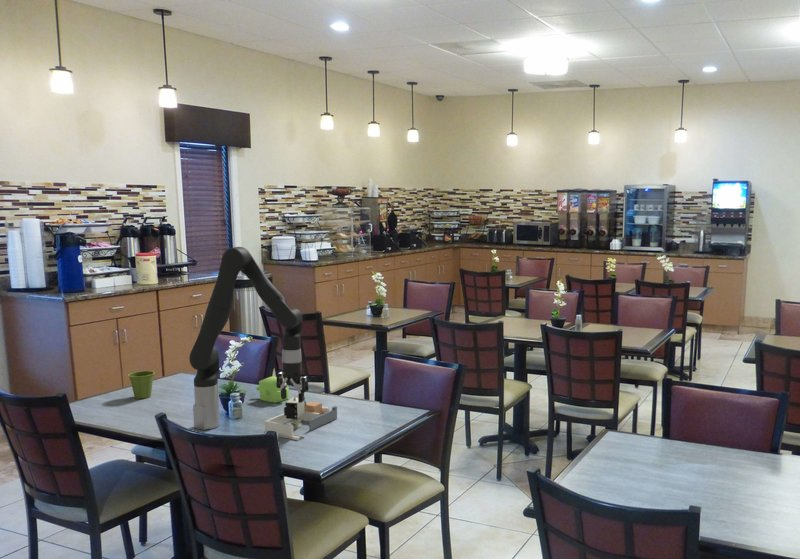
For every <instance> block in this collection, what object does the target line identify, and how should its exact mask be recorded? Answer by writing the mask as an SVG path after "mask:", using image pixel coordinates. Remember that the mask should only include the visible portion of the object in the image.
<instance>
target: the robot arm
mask: <svg viewBox="0 0 800 559" xmlns="http://www.w3.org/2000/svg"><path fill="white" fill-rule="evenodd" d="M218 269H219V271H218V275H217V278H216V281H215V283H214V287H213V289H212V293H211V296H210V298H209V300H208V304H207V307H206V310H205V314H204V316H203V319H202V323H201V326H200V330H199V333H198V336H197V337H196V340H195V343H194V344H193V346H192V349H191V350H190V354H189V364H190V365H191V367H192V369H194V370H197V371H196V374H195V376H194V378H193V391H194V393H193V394H194V395H193V396H194V404H193V405H192V412H193V413H192V414H193V428H194V429H199V430H203V431H207V430H211V429H216V428H218V427H219V426H220V424H221V422H220V404H219V381H218V379H219V377H220V376H219V375H220V355H219V351H218V349H217V347H216V346H215V344H216V341H217V339H218V337H219V335H220V334H221V333H222V331H223V329H224V328H225V326H226V325H227V322H228V321H229V318H230V316H231V313H232V311H233V306H234V300H235V293H234V292H235V284H236V281H237V278H238V276H239V274H240V272H241V273H242V274H243V275H245V277H247V278H248V279H249V281H250V282H251V284H252V285H253V287H254V289H255V291H256V293H257V295H258V296H259V299H261V300H262V301H263V302H264V304H265V305H266V306H267V307H268V308H269V309H270V311H271V312H272V314H273V316H274V317H275V319H276V321H277V323H279V324H280V326H282V327H283V328H285V332H284V334H283V335H282V340H281V341H282V353H281V364H282V365H281V367H282V368H281V369H282V371H280V372H277V373H276V377H277V383H276V387H277V388H280V390H281V398H282V399H286V398H287V392H286V388H287V386H288V387H289V386H291V387H294V389H295V390H297V392H298V395H297V397H298V402H299V403H301V402H303V401H304V397H305V393H306V392H309V381H308V380H309V379H308V378H309V377H308V376H307V375H306V376H302V374H301V373H302V371H303V370H302V366H303V365H302V364H303V363H302V362H303V360H302V358H303V357H302V347H301V346H302V345H301V344H302V343H301V340H302V339H301V337H302V336H301V334H302V330H303V315H302V314H303V313H302V312H301V311H300V310H299V309H297V308H290V307H289V306H288V305H287V304H286V302H287V300H286V298H285V297H284V295H283V294H282V293H281V292H280V291H279V290H278V289H277V288H276V287H275V286H274V284H273V283H272V281H271V280H270V279H269V278H268V277H267V276H266V274H265V273H264V271H263V270H262V269H261V268H260V265H258V264H257V262H256V260H255V259H254V257H253V256H252V254H251V252H250V251H249V250H248V249H247V248H245V247H243V246H234V247H229V248H228V249H227V250H225V251H224V253H222V257H221V260H220V266H219V268H218ZM283 378H284V381H283ZM286 400H287V399H286Z"/></svg>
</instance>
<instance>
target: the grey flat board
mask: <svg viewBox="0 0 800 559" xmlns="http://www.w3.org/2000/svg"><path fill="white" fill-rule="evenodd" d="M337 419H338V407H337V406H335V405H334V406H332V407H331V410H329V412H326V413H324V414H322V415H320V416H317V417H315V418H313V419H310V420H309V422H308V425H309V426H308V429H309V431H313V430H315V429H318V428H319V427H322V426H324V425H325V424H328V423H330V422H333V421H335V420H337Z"/></svg>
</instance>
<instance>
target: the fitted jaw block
mask: <svg viewBox="0 0 800 559" xmlns="http://www.w3.org/2000/svg"><path fill="white" fill-rule="evenodd" d="M322 407H323V402H318V401H317V402H316V401H310V402H308V403H307V402H306V406H305V411H309V412H314V413H320V415H322Z"/></svg>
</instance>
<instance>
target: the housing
mask: <svg viewBox="0 0 800 559" xmlns="http://www.w3.org/2000/svg"><path fill="white" fill-rule="evenodd" d="M329 411H330V408H329V407H327V406H322V414H324V413H326V412H329ZM317 416H320V413H314V412H309V411H305V413H304V414H302V415H301V416H300V417H301V422H302V421H304V422H308V423H309V420H310V419H313V418H315V417H317ZM300 417H299V418H300ZM290 420H291V419H288V418H286V416H284V413H282V414H279V415H276V416H274V417H271V418H268V419H265V421H264V433H266V432H267V431H269V430H274V431H276V432H277V433H278V436H277V437H280V438H284V439H289V440H293V441H294V440H295V441H300V440H302V439H304V438H305V436H299V435H296V434H294V430H298V429H301V428H302V427H303V426H302V425H301V426H300V427H299V428H293V426H292V425H291V424H287V423H291V421H290Z"/></svg>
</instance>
